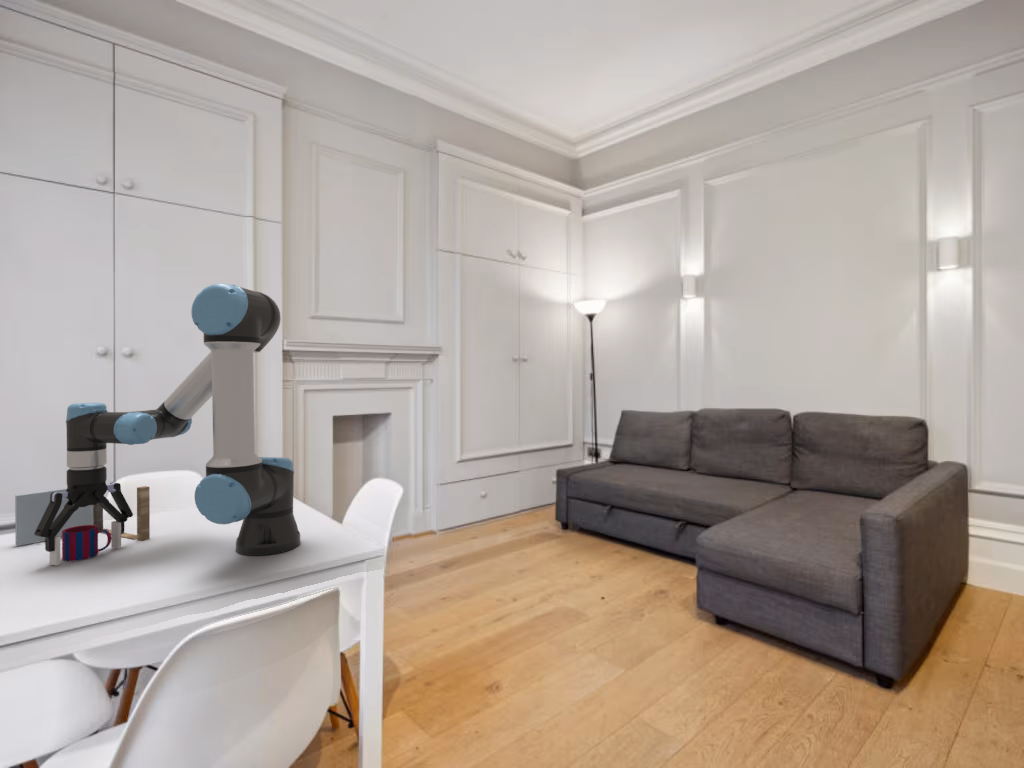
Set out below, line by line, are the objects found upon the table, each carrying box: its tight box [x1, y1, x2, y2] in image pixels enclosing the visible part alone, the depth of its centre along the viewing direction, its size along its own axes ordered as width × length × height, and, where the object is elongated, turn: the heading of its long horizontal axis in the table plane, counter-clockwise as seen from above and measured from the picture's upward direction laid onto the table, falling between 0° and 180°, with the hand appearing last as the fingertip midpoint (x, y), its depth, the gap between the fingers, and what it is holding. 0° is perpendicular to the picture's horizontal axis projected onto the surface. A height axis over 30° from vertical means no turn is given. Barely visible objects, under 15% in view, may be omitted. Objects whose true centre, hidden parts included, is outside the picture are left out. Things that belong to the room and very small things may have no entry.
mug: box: [61, 525, 111, 562], centre depth 128 cm, size 7×10×7 cm
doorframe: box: [93, 485, 151, 542], centre depth 147 cm, size 26×2×15 cm, turn 66°
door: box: [14, 487, 93, 547], centre depth 142 cm, size 16×3×13 cm, turn 146°
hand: (87, 555), depth 128 cm, fingers open, 12 cm apart
